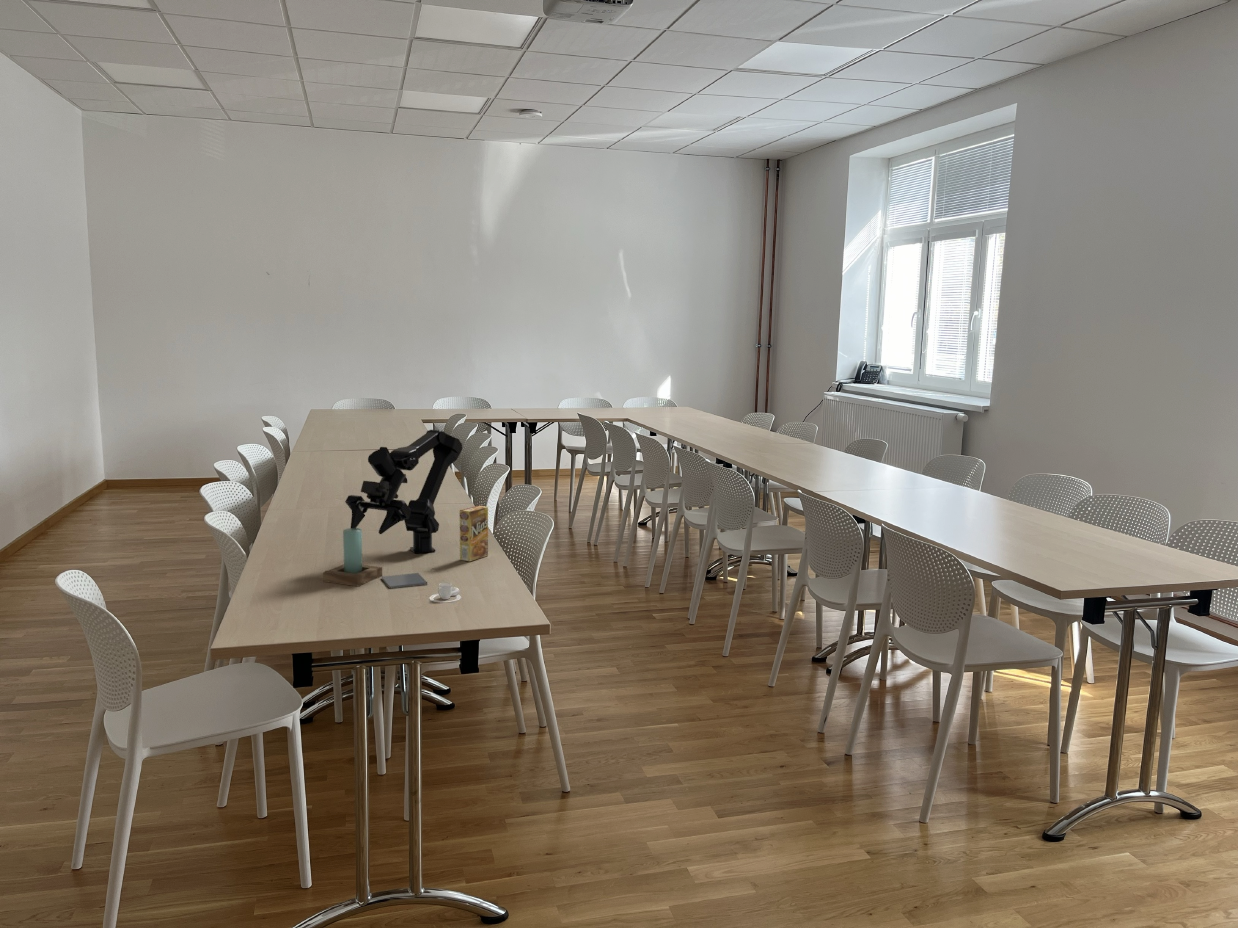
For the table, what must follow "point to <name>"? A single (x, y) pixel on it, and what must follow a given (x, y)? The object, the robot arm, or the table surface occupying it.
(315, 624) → the table surface
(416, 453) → the robot arm
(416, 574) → the coaster
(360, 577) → the pocket block
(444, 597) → the teacup and saucer
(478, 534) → the candy box
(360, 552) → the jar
